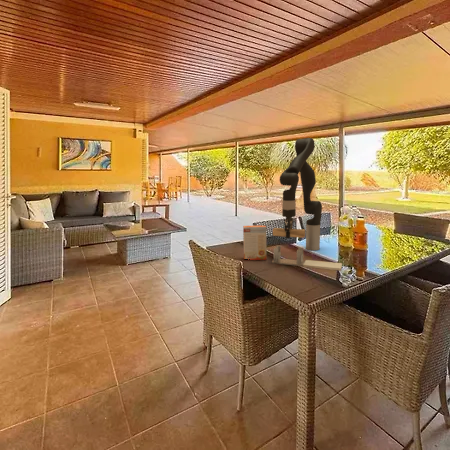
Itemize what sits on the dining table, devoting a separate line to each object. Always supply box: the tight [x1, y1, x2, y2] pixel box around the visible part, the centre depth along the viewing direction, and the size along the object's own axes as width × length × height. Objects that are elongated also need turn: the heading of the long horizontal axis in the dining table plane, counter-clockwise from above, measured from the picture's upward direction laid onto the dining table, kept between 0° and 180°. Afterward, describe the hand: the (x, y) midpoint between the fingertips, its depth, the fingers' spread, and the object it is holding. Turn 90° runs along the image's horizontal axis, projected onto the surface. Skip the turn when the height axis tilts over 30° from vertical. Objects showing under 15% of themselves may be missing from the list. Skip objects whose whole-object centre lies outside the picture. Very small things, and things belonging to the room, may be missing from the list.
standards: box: [271, 245, 306, 267], centre depth 177 cm, size 8×18×9 cm, turn 66°
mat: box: [302, 259, 343, 271], centre depth 170 cm, size 10×20×1 cm, turn 66°
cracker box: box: [242, 225, 267, 261], centre depth 186 cm, size 14×6×21 cm, turn 86°
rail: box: [272, 227, 306, 238], centre depth 175 cm, size 4×18×4 cm, turn 66°
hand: (288, 237), depth 175 cm, fingers closed on rail, 4 cm apart
